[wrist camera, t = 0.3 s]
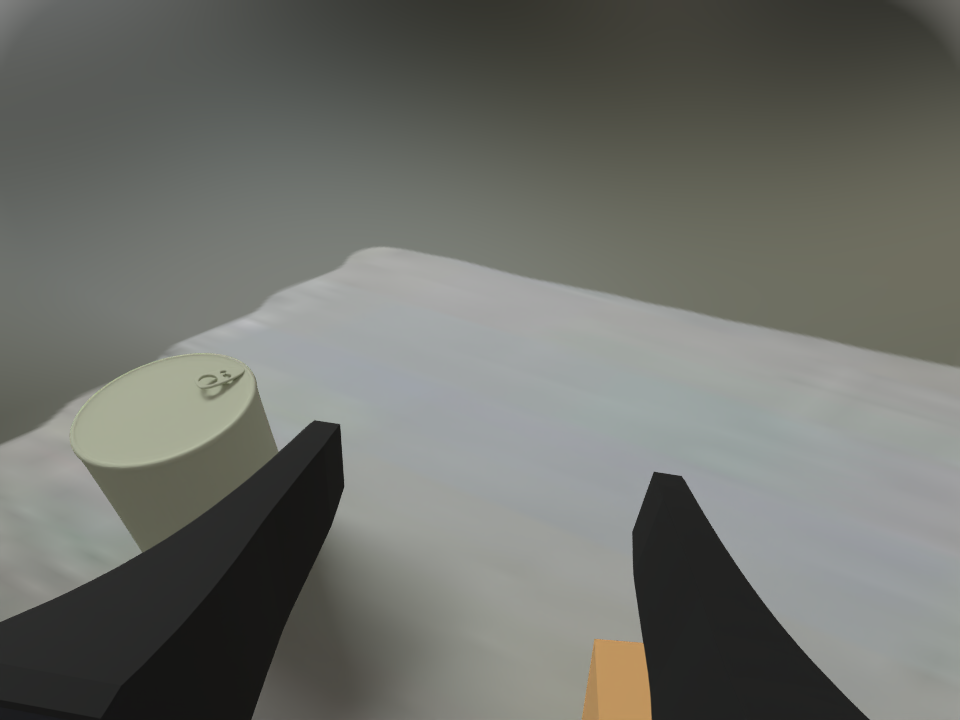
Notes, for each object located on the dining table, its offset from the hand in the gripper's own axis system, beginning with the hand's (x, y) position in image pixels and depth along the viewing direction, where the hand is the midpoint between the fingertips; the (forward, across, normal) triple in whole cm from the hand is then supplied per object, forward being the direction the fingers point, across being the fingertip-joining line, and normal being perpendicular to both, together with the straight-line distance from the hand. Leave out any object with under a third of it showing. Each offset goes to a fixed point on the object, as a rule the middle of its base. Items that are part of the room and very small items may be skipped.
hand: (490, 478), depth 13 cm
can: (+13, +16, +22) cm, 31 cm away
